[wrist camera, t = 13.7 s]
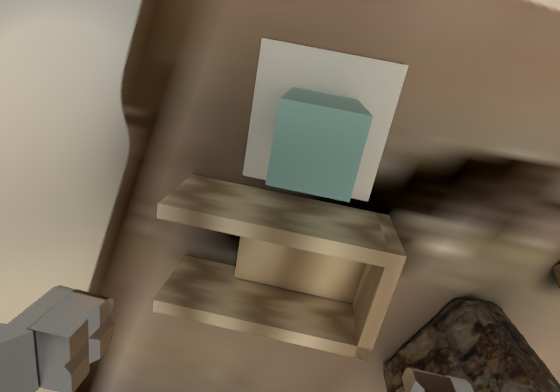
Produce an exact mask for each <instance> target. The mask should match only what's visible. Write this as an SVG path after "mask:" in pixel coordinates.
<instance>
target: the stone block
mask: <svg viewBox="0 0 560 392" xmlns="http://www.w3.org/2000/svg"><path fill="white" fill-rule="evenodd" d="M383 367H384V379H385V382H386V388H387V392H396V390H397V389H399V388H401V387H402V386H404V385H403V381H402V376H403V373H404V371H405V370H406V369H407V368H408V367H409V368H414V369H418V370H423V371H427V372H432V373H436V374H441V375H445V376H451V377H455V378H460V379H465V380H467V381H468V382H469V383H470V384H471V386H472V388H473V391H474V392H560V384H559V383H558V382H557V380H556V379H555V377H554V376H553V375H552V373H551V372H550V371H549V369H548V368H547V366H546V365H545V363H544V362H543V361H542V360H541V359H540V358H539V356H538V355H537V354H536V353H535V352H534V350H533V349H532V348H531V347H530V346H529V345H528V343H527V341H526V339H525V338H524V336H523V335H522V334H521V333H520V332H519V331H518V330H517V328H516V327H515V326H514V324H513V323H512V322H511V321H510V320H509V318H508V317H507V316H506V315H505V313H504V312H503V310H502V309H501V308H499V307H498V306H497V305H495V304H493V303H491V302H485V301H483V300H480V301H478V300H474V299H470V300H466V299H465V298H463V299H457V300H455V301H454V302H452V303H451V304H449V305H448V306H447V307H446V308H445V309H444V310H443V311H442V312H441V313H440V314H439V315H438V316H437V317H436V318H435V319H434V320H433V321H432V322H431V323H429V324H428V325H427V326H426V327H425V328H424V329H423V330H422V331H420V332H419V333H418V334H417V335H416V336H415V337H414V338H413V339H412V340H411V341H410V342H409V343H408V344H407V345H405V346H404V347H403V348H402V349H401V350H400V351H399V352H398V353H397V354H396V355H395V356H394V358H393V359H391V360H390V361H389V362H388V363H387V364H386V365H385V366H383Z"/></svg>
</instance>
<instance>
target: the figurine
mask: <svg viewBox="0 0 560 392" xmlns="http://www.w3.org/2000/svg"><path fill="white" fill-rule="evenodd" d="M553 270H554V273H555V276H556V279H557V282H558V286H559V288H560V263H559V264H557V265H555V266H554V267H553Z"/></svg>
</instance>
